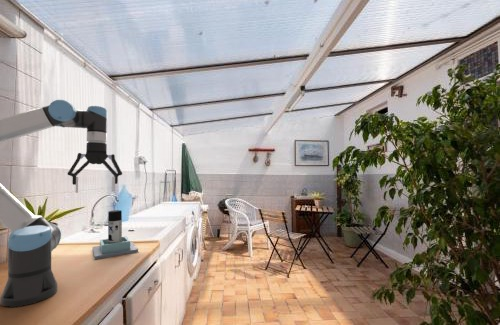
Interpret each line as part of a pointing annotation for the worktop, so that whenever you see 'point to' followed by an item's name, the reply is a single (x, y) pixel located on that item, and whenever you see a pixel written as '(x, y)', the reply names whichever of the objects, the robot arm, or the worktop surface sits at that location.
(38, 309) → the worktop surface
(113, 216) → the spray can
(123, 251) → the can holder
